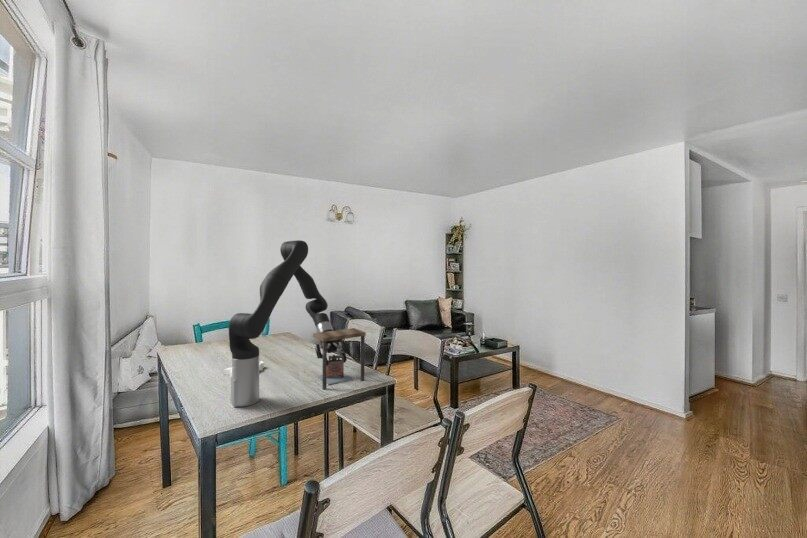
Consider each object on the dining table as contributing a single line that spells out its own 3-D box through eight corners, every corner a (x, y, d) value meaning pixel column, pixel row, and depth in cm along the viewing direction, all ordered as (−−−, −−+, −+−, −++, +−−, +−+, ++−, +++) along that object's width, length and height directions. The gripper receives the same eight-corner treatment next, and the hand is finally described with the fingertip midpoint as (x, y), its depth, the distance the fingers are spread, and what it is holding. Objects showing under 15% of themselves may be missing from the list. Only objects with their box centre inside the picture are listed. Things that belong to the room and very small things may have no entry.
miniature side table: (322, 390, 138) (323, 338, 137) (312, 382, 147) (312, 333, 146) (365, 380, 150) (365, 332, 149) (353, 373, 159) (353, 328, 158)
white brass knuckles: (246, 365, 170) (270, 369, 166) (217, 377, 153) (243, 381, 148) (246, 359, 170) (270, 362, 165) (217, 370, 153) (243, 373, 148)
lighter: (325, 379, 149) (325, 356, 149) (325, 376, 153) (325, 354, 153) (344, 377, 151) (344, 355, 151) (343, 375, 155) (343, 353, 154)
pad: (328, 385, 144) (328, 384, 144) (317, 377, 153) (317, 376, 153) (353, 379, 151) (353, 378, 151) (341, 372, 160) (341, 371, 160)
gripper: (313, 330, 153) (323, 361, 144) (342, 327, 162) (353, 356, 153) (309, 339, 158) (318, 370, 149) (337, 336, 166) (347, 364, 157)
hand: (336, 363), depth 151 cm, fingers open, 8 cm apart
